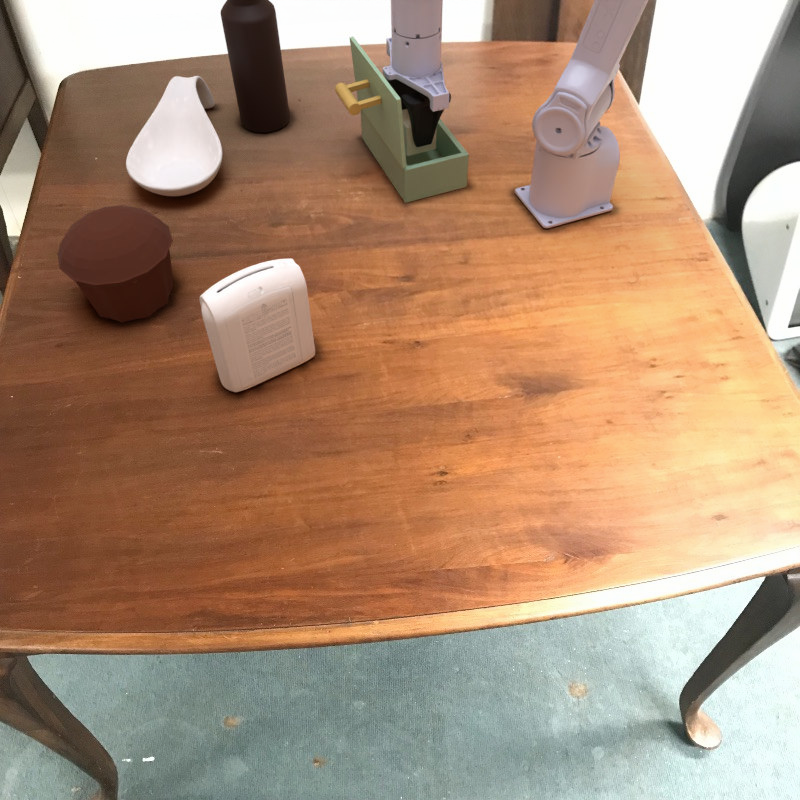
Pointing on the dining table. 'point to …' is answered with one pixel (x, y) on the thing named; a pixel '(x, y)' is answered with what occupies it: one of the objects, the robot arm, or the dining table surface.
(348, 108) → the compartment door
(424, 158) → the compartment
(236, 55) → the bottle
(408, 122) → the block
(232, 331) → the photo printer
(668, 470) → the dining table surface
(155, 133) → the spoon rest
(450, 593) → the dining table surface
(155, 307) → the muffin
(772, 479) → the dining table surface
